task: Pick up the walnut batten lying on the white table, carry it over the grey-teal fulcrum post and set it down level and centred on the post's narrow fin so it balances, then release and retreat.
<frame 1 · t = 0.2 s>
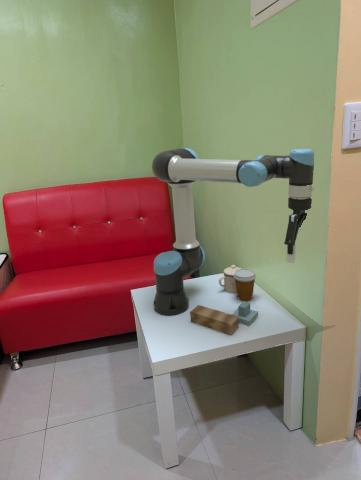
hand: (297, 255, 124), 28 cm above the table, fingers open, 13 cm apart
fulcrum: (244, 317, 139), on the table
batten: (214, 325, 136), on the table
disposable coffee cup: (244, 298, 154), on the table
teacup with lid: (230, 289, 162), on the table
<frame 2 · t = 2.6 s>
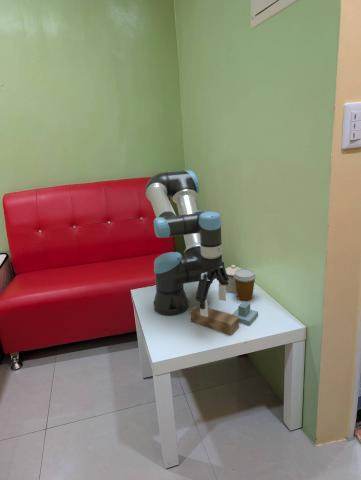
hand: (213, 307, 133), 8 cm above the table, fingers open, 13 cm apart
nothing on the table moved.
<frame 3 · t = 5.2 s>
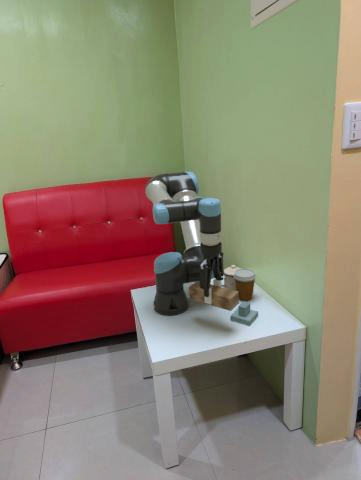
hand: (212, 299, 133), 11 cm above the table, fingers closed on batten, 6 cm apart
batten: (213, 301, 133), point 10 cm above the table, touching gripper
everything else where it was.
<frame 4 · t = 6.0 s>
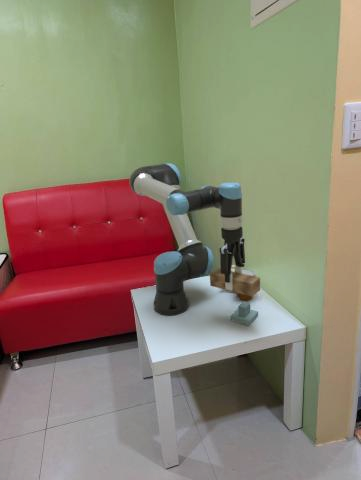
hand: (233, 285, 131), 16 cm above the table, fingers closed on batten, 6 cm apart
batten: (234, 287, 132), point 15 cm above the table, touching gripper
everything else where it was.
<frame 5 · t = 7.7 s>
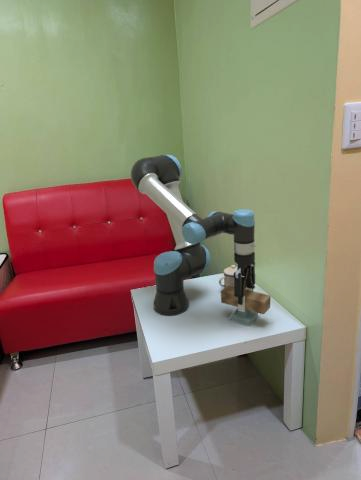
hand: (245, 306, 137), 5 cm above the table, fingers closed on batten, 6 cm apart
batten: (245, 304, 137), point 6 cm above the table, touching fulcrum, gripper
everything else where it was.
when the fingers open (5 cm above the table, at t = 7.8 s): batten stays where it is, resting on fulcrum.
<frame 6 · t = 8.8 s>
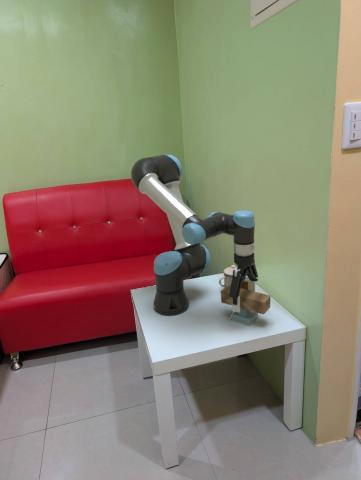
hand: (244, 303, 137), 7 cm above the table, fingers open, 13 cm apart
batten: (245, 304, 137), point 6 cm above the table, touching fulcrum
everything else where it was.
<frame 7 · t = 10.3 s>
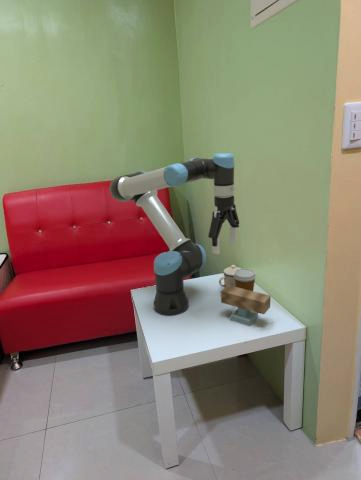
hand: (224, 247, 140), 26 cm above the table, fingers open, 13 cm apart
nothing on the table moved.
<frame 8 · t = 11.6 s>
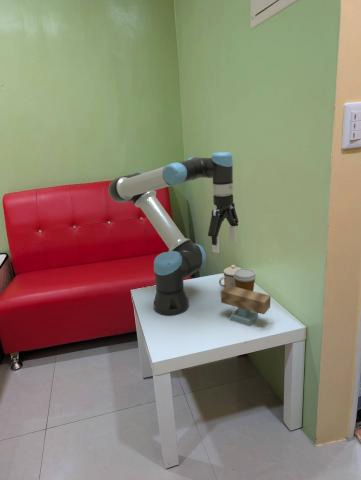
hand: (224, 246, 140), 27 cm above the table, fingers open, 13 cm apart
nothing on the table moved.
at the end: batten 0.4 cm off-centre on the fulcrum, point 6.0 cm above the fulcrum's base; batten tilted 0°; batten touching fulcrum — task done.
